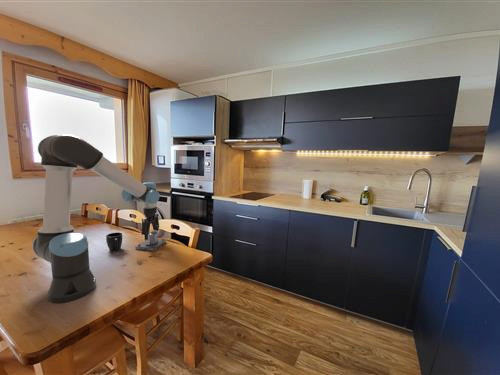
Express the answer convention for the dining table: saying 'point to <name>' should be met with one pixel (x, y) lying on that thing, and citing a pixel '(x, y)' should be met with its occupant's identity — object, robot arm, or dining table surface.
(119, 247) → the mug
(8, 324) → the dining table surface
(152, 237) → the hub
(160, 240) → the shaft block
